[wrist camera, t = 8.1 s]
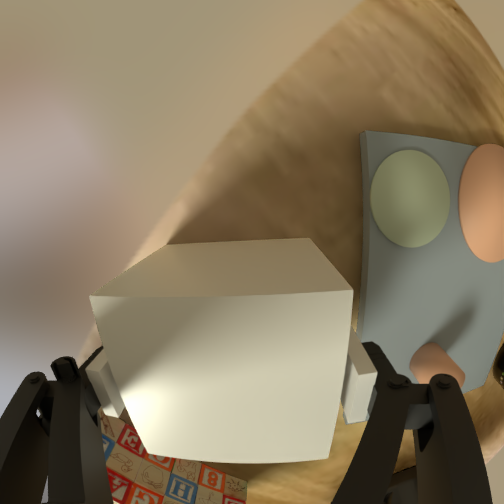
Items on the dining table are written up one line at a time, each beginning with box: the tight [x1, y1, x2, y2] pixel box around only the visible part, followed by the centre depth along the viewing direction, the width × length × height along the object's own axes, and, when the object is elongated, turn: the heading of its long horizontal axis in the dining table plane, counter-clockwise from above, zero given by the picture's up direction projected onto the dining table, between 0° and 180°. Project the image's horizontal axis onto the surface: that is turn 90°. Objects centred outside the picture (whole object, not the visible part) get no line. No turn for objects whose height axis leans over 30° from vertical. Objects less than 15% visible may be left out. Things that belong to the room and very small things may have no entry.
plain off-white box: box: [90, 238, 353, 463], centre depth 14 cm, size 9×9×9 cm
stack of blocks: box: [98, 407, 247, 504], centre depth 17 cm, size 21×6×12 cm, turn 53°
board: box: [343, 131, 504, 425], centre depth 15 cm, size 22×16×5 cm
